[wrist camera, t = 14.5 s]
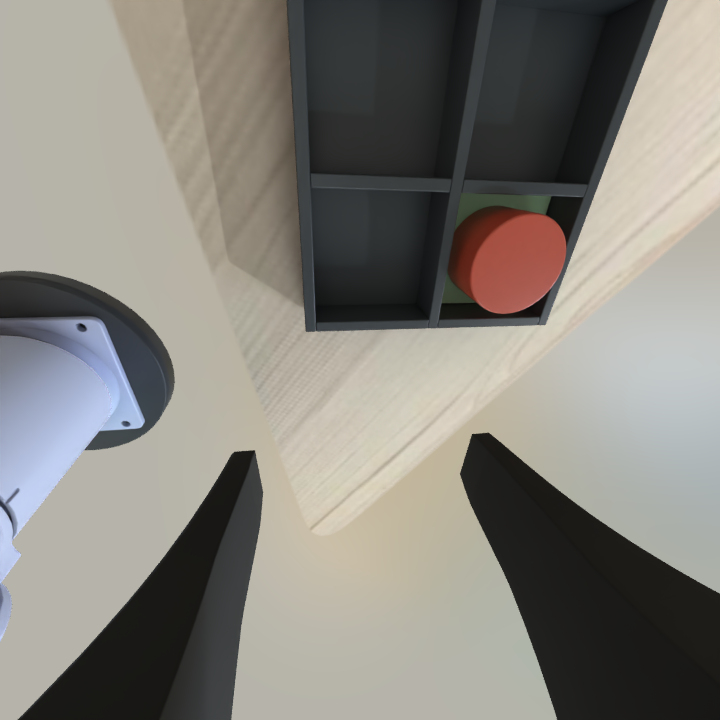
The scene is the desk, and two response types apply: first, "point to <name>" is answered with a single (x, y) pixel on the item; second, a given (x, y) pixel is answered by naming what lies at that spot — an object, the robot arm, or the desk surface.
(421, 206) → the grid
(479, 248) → the cylinder
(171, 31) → the desk surface
